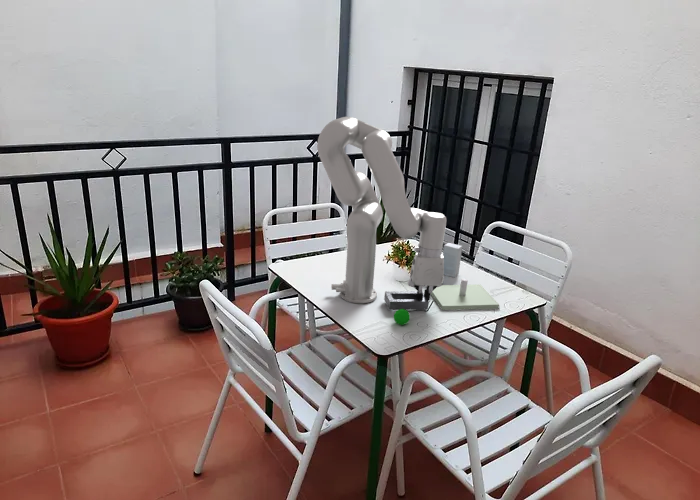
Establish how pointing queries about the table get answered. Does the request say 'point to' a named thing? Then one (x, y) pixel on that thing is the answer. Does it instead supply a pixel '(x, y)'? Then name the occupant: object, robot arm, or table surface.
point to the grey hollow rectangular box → (405, 300)
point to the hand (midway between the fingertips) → (422, 301)
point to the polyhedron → (401, 316)
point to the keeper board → (463, 297)
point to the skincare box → (452, 259)
